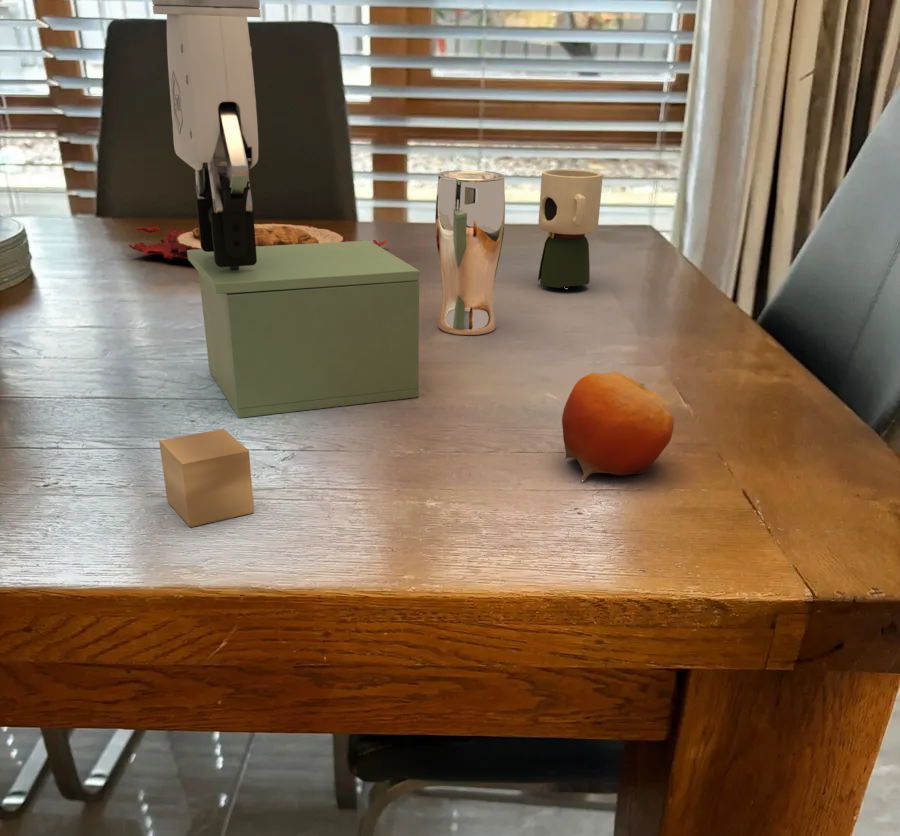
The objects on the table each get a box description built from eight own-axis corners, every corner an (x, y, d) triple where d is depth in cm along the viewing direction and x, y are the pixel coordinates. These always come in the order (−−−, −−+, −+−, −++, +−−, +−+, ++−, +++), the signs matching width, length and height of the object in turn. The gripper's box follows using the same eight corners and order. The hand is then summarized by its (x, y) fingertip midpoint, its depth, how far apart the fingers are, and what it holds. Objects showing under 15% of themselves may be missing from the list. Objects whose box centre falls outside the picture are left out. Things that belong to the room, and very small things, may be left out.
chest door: (216, 294, 74) (209, 224, 71) (187, 259, 84) (181, 197, 81) (419, 280, 79) (420, 215, 77) (370, 249, 89) (369, 190, 87)
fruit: (518, 437, 73) (575, 342, 71) (593, 477, 77) (650, 388, 75) (566, 479, 66) (631, 376, 64) (645, 520, 71) (709, 424, 68)
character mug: (525, 277, 124) (532, 166, 117) (579, 276, 125) (589, 166, 118) (545, 298, 115) (553, 179, 108) (603, 297, 116) (615, 179, 109)
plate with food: (295, 285, 118) (294, 256, 117) (129, 255, 127) (126, 227, 126) (389, 253, 137) (390, 227, 135) (238, 229, 146) (237, 204, 144)
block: (190, 527, 62) (181, 463, 60) (167, 502, 65) (158, 440, 63) (254, 512, 64) (249, 450, 62) (229, 488, 67) (223, 428, 65)
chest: (238, 418, 79) (227, 295, 74) (209, 371, 89) (197, 260, 84) (418, 397, 84) (419, 281, 79) (372, 355, 94) (370, 250, 89)
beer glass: (462, 340, 99) (467, 181, 92) (420, 325, 104) (421, 172, 96) (513, 329, 103) (521, 176, 95) (470, 315, 108) (475, 167, 100)
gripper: (135, -9, 75) (164, 239, 84) (170, -11, 61) (200, 285, 71) (233, -5, 77) (251, 235, 87) (287, -7, 64) (301, 278, 73)
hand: (228, 255), depth 79 cm, fingers closed on chest door, 5 cm apart
